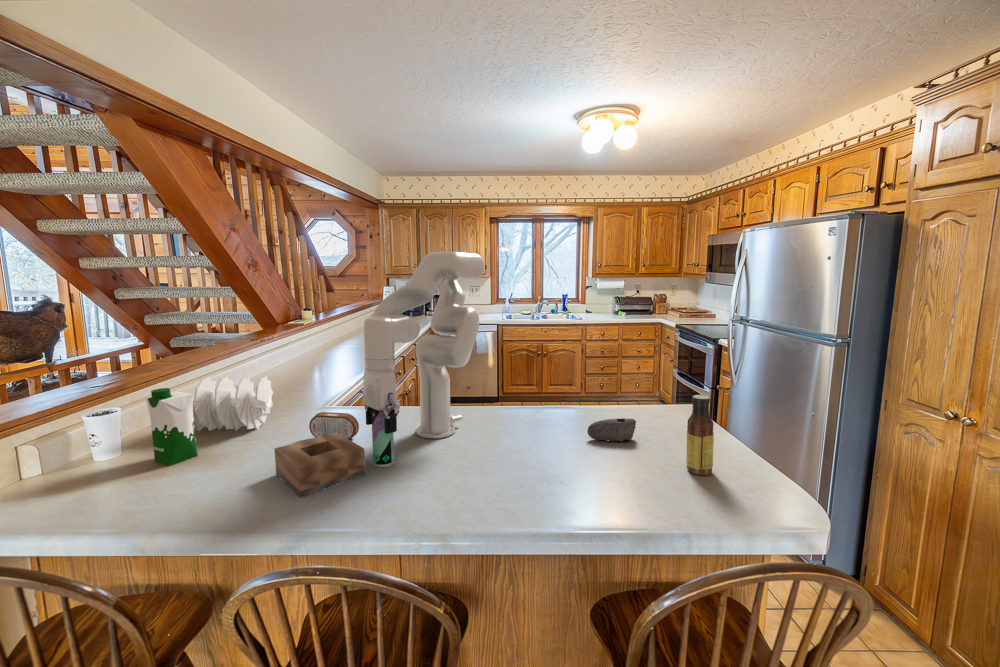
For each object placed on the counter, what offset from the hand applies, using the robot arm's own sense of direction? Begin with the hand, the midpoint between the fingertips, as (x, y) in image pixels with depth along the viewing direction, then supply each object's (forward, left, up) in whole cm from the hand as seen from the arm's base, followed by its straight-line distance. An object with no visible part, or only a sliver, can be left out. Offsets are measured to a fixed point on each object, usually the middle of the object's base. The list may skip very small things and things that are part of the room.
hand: (381, 428), depth 115 cm
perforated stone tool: (-59, +35, -10) cm, 69 cm away
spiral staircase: (+21, -59, -10) cm, 64 cm away
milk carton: (+38, -43, -10) cm, 59 cm away
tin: (+1, -26, -10) cm, 28 cm away
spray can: (-1, 0, -10) cm, 10 cm away
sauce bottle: (-56, +62, -10) cm, 84 cm away
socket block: (+14, -5, -10) cm, 18 cm away
